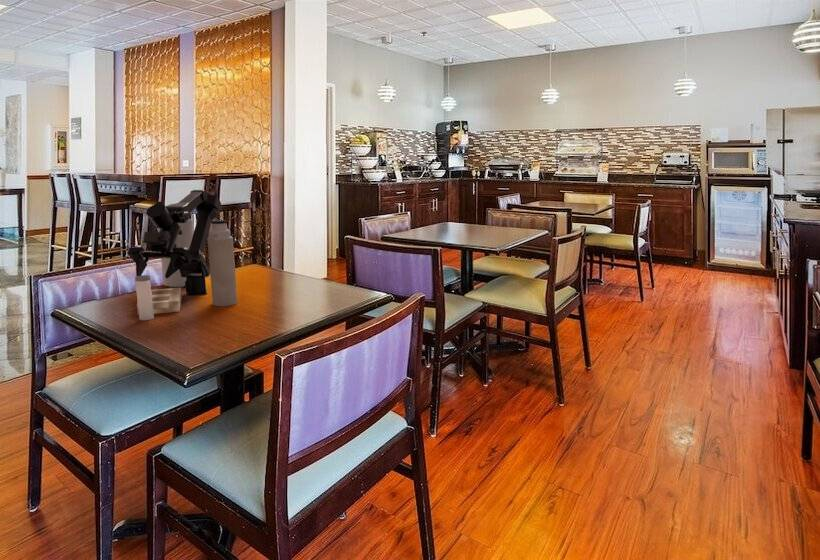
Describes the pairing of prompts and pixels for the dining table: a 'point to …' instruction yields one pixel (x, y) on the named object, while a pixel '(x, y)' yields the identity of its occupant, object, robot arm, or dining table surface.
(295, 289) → the dining table surface
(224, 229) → the thermos bottle
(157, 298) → the socket board
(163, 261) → the cylinder vase
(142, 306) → the plug
